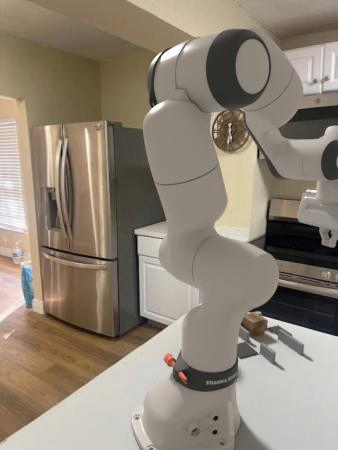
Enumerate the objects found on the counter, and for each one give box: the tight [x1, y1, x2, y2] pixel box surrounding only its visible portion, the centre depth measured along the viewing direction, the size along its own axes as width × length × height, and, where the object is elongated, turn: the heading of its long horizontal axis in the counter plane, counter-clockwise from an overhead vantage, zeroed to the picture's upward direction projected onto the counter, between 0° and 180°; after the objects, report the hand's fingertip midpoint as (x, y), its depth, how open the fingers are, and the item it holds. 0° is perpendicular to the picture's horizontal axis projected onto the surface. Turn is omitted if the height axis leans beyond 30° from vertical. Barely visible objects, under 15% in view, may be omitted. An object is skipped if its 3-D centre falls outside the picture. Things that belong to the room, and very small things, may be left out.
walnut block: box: [241, 312, 266, 338], centre depth 104 cm, size 5×5×5 cm
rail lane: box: [238, 310, 305, 364], centre depth 99 cm, size 11×20×4 cm, turn 24°
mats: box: [237, 325, 293, 359], centre depth 100 cm, size 22×10×1 cm, turn 114°
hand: (328, 246), depth 87 cm, fingers closed
